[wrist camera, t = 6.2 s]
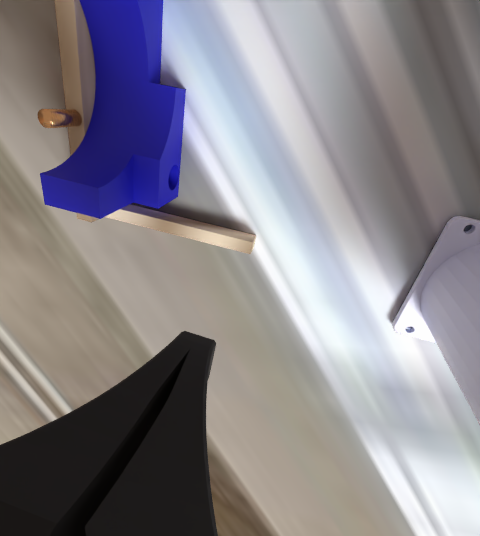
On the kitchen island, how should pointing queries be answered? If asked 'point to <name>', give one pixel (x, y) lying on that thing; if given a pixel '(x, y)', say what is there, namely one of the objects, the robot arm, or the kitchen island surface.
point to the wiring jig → (78, 119)
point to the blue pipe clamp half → (123, 118)
